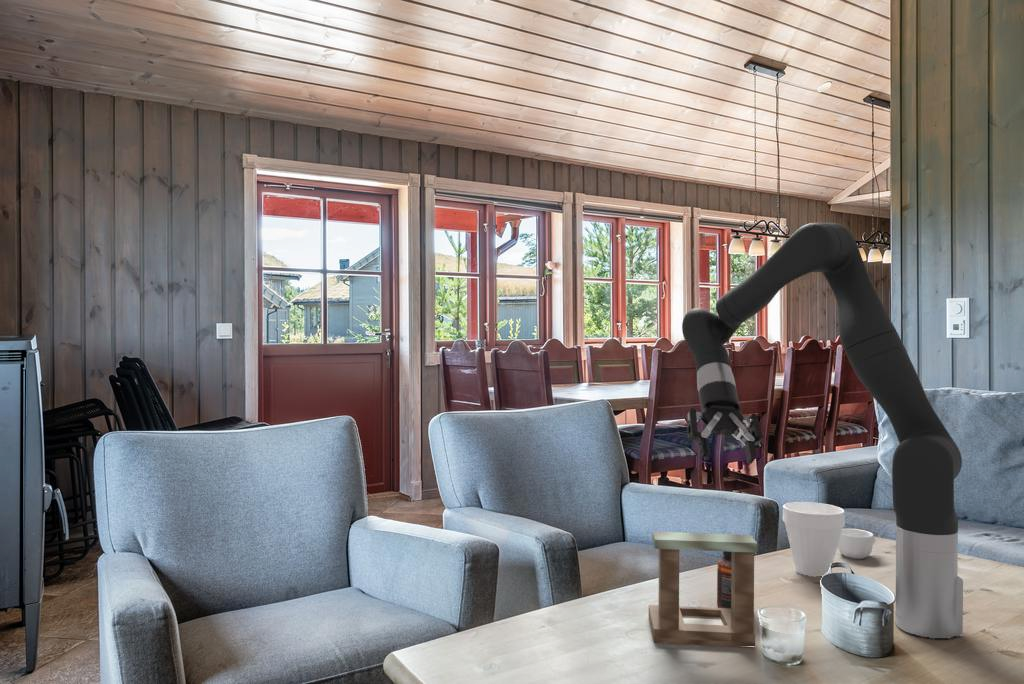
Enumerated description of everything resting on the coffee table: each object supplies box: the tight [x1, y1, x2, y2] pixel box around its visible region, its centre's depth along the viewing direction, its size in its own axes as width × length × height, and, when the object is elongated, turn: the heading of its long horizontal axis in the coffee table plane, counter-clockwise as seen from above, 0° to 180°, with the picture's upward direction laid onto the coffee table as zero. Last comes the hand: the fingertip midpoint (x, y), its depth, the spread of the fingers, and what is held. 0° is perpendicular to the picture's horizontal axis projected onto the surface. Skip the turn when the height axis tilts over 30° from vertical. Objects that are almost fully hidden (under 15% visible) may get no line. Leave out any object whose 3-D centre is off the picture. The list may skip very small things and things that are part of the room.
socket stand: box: [648, 531, 758, 648], centre depth 124 cm, size 16×12×17 cm
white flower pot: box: [782, 501, 846, 577], centre depth 157 cm, size 12×12×14 cm
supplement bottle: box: [716, 551, 731, 609], centre depth 134 cm, size 6×6×11 cm
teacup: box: [837, 528, 876, 560], centre depth 169 cm, size 10×8×5 cm
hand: (729, 460), depth 141 cm, fingers open, 8 cm apart
